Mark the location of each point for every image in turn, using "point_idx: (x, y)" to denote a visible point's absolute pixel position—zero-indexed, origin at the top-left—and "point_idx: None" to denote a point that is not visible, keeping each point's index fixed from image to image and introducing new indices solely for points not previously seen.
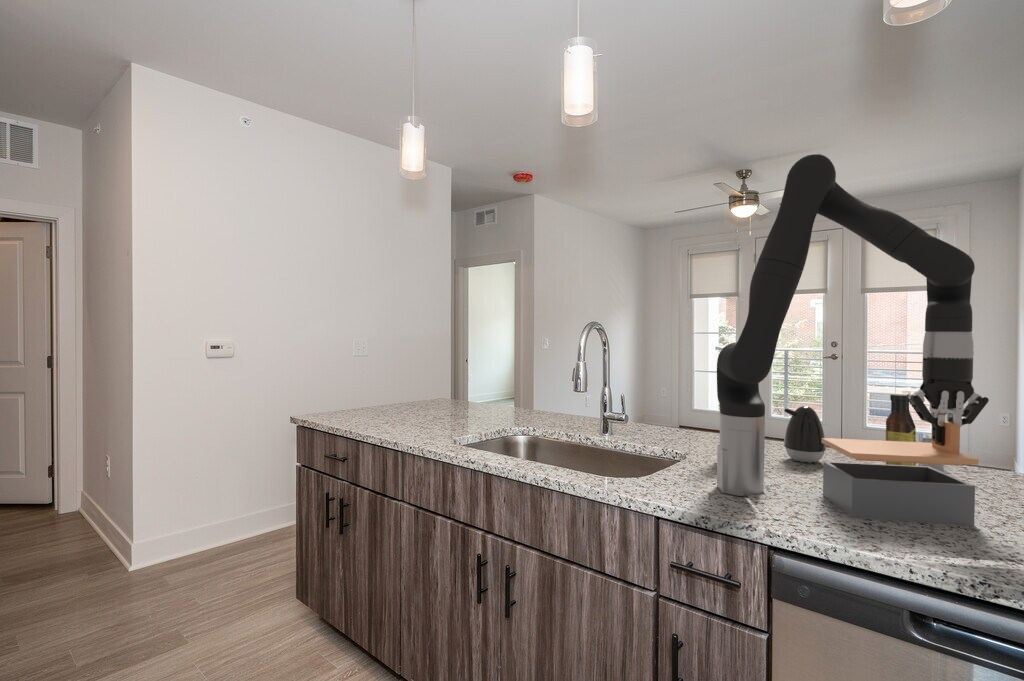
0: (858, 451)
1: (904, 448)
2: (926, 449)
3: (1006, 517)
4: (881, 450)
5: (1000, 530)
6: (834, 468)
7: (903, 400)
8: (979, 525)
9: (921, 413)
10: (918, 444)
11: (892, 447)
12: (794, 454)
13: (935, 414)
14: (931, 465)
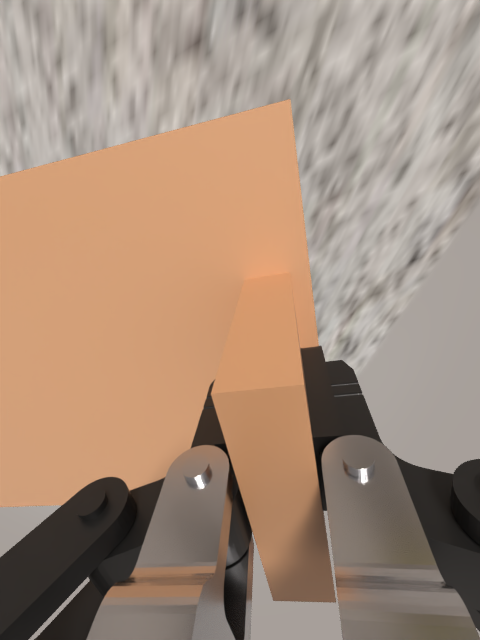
0: None
1: (100, 384)
2: (192, 373)
3: (461, 195)
4: (22, 450)
5: (365, 323)
6: None
7: None
8: (335, 302)
9: (41, 579)
10: (182, 234)
11: (53, 380)
12: None
13: (185, 570)
14: None
